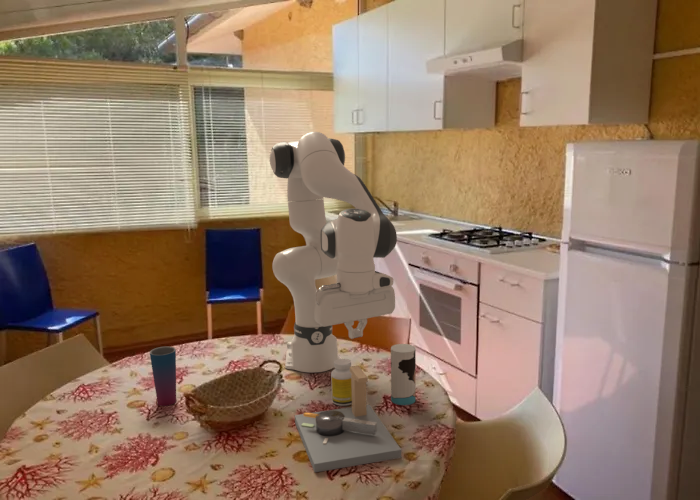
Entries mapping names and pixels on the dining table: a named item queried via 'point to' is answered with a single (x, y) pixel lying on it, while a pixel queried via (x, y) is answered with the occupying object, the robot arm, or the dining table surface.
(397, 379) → the cup
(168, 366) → the cup
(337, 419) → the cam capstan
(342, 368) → the pill bottle
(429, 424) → the dining table surface
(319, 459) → the stand base
